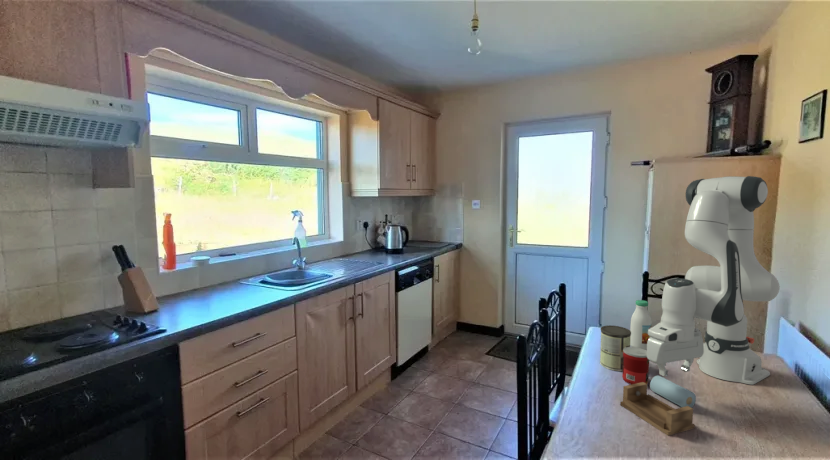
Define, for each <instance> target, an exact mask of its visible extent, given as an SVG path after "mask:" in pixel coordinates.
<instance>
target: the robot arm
mask: <svg viewBox="0 0 830 460" xmlns="http://www.w3.org/2000/svg"><path fill="white" fill-rule="evenodd" d="M768 194H769V189H768V185H767V182H766V181H765V180H764V179H763V178H762V177H759V176H755V175H754V176H753V175H752V176H751V175H747V176H736V175H735V176H730V175H729V176H722V177H712V178H711V177H710V178H706V179H705V178H701V179H695V180H693V181H691V182H690V183H689V184H688V185H687V186H686V190H685V201H686V203H687V204H688V205H689V209H688V213H687V217H686V220H685V226H684V238H685V240H686V242H687V243H688V244H689V245H690V246H692V247H693V248H695V249H696V250H698V251H700V252H703V253H705V254H707V255H709V256H711V257H713V258H715V259H716V260H717V262H718V264H719V265H718V266H717V265H708V264H707V265H694V266H692V267H690V268H689V269H688V270H687V271H686V273H685V275H684V278H671V279H668V280H666V281H665V284H664V286H663V291H662V298H661V308H662V315H661V316H660V322H658V323H657V324H655V325H654V326H652V328H650V329H649V330H648V335H649V336H651V337H650V338H649V339H648V342H647V350H646V351H647V358H648V360H649V362H652V363H653V364H655V365H657V368H658V371H659V376H661V377H667V376H668V375H669V373H668V372H669V370H668V369H666V366H667V364H668V363H674V362H679V361H680V362H681V361H683V364H681V371H682V372H684V373H687V372H690V371H691V367H692V364H693V363H694V359H697V360H696V363H697V364H698V367H699V370H700V371H702V372H703V373H704V374H706V375H708V376H711V377H713V378H716V379H720V380H723V381H728V382H736V383H742V384H746V385H752V386H753V385H755V384H757V383H759V382H760V381H762V380H764V379H766V378H768V377H769V376H770V375H771V372H770V371H769V370H767V369H765V368H764V367H762V363H763V362H762V357H760V356H759V354H757V353H756V352H755V351H754V350H752V349H751V348H750V344H751V345H753V344H754V343H755V338H754V337H750V336H747V332H748V329H747V328H748V318H747V315H745V309H744V308H745V307H744V301H748V302H771V301H773V300H774V299H775V298H776V297H777V296H778V295H779V293H780V287H781V286H780V282H779V280H778V279H777V277H776V276H775V275H774V274H772V273H771V272H769V271H768V270H767V269H766V268H765V267H763V265H762V264H761V263H760V262H759V260H758V258H757V256H756V254H755V248H754V247H755V246H754V235H755V234H754V232H755V216H754V215H755V214H754V211H755V210H756V209H758V208H760V207H761V206H762V205H764V203H765V202H766V200H767V197H768ZM695 319H699V320H701V321H702V320H703V321H706V331H705V334H704V339H703V336H702V331H701V330H700V329H699V328H698V327H695V326H696V321H695Z"/></svg>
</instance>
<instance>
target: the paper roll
mask: <svg viewBox="0 0 830 460" xmlns="http://www.w3.org/2000/svg"><path fill="white" fill-rule="evenodd" d="M649 383H650V384H649V388H650V390H651V391H652V392H654V393H655V394H658V395H659V396H661V397H663V398H665V399H666V400H668V401H670V402H672V403H673V404H676V405H678V406H679V407H680V408H682V407H686V406H689V407H691V408H693V407H694V405H695V403H696V401H697V400H696V399H697V397H696V393H694V391H692V390H689V389H687V388H685V387H683V386H681V385H679V384H677V383H675V382H673V381H671V380H670V379H667V378H665V377H664V376H662V375H654V376H653V377H652V378H651V381H650V382H649Z"/></svg>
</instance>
